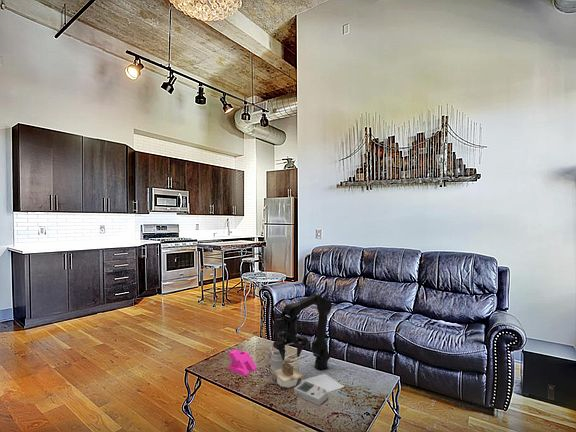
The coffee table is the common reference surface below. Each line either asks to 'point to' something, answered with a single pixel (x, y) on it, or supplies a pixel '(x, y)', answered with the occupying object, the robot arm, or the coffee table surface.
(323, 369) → the robot arm
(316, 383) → the mat
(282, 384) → the bowl
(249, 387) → the coffee table surface
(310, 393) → the handheld gaming device
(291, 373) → the lid
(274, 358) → the mug
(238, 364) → the bracket
